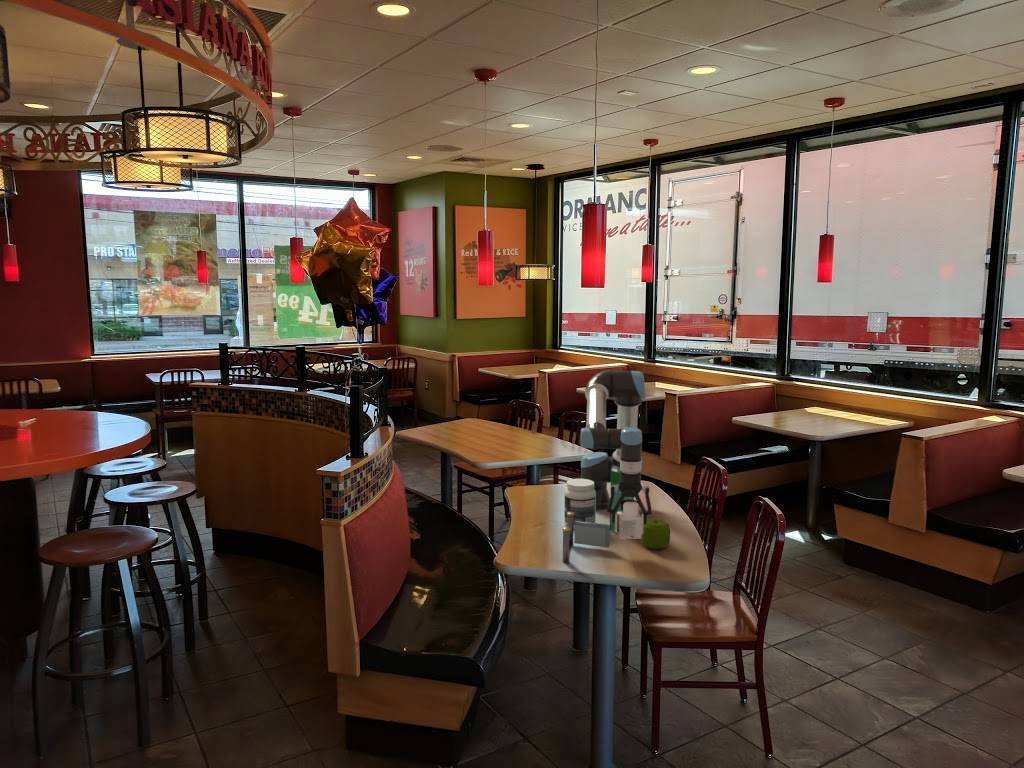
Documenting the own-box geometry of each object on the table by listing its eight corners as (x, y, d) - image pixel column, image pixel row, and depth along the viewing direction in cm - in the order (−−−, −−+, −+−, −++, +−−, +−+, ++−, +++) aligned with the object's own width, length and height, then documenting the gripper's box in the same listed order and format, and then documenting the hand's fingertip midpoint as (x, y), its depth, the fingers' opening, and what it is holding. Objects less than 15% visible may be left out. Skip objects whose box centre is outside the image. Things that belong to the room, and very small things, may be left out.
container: (615, 531, 266) (617, 497, 264) (636, 531, 267) (638, 497, 265) (620, 539, 259) (622, 504, 257) (641, 539, 259) (643, 504, 257)
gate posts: (566, 543, 276) (567, 511, 274) (574, 544, 276) (574, 511, 274) (561, 563, 257) (562, 528, 255) (569, 563, 256) (569, 529, 255)
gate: (574, 543, 273) (574, 521, 272) (575, 542, 274) (575, 520, 273) (608, 547, 269) (609, 525, 267) (609, 546, 270) (609, 524, 269)
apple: (663, 554, 266) (664, 525, 264) (636, 548, 271) (637, 520, 270) (674, 544, 275) (675, 517, 273) (647, 539, 281) (648, 512, 279)
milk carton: (632, 532, 289) (633, 471, 285) (609, 530, 290) (610, 470, 287) (633, 524, 297) (634, 465, 294) (611, 523, 299) (612, 464, 296)
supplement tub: (566, 519, 304) (566, 477, 302) (596, 521, 302) (597, 478, 299) (562, 529, 292) (562, 485, 289) (594, 531, 289) (594, 487, 286)
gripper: (600, 472, 258) (599, 533, 261) (661, 475, 254) (659, 537, 257) (601, 467, 265) (599, 526, 268) (660, 470, 261) (658, 530, 265)
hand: (629, 531), depth 263 cm, fingers closed on container, 9 cm apart
